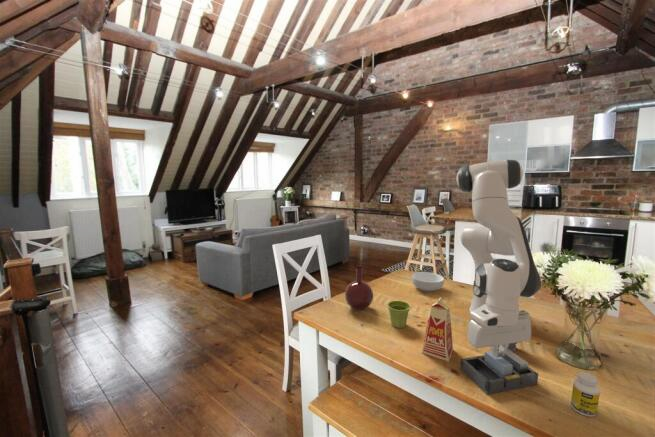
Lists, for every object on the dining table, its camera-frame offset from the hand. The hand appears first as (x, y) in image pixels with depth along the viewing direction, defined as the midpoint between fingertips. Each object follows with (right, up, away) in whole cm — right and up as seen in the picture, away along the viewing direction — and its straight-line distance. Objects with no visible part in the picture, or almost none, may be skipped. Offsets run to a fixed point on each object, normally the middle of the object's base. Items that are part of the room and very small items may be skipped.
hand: (498, 355), depth 95 cm
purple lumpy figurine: (+12, -5, +17) cm, 21 cm away
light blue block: (0, -6, +1) cm, 6 cm away
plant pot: (-23, -2, +34) cm, 41 cm away
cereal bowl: (+2, +4, +74) cm, 74 cm away
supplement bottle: (+16, -9, -13) cm, 22 cm away
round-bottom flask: (-38, 0, +50) cm, 63 cm away
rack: (0, -7, +1) cm, 7 cm away
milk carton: (-13, -5, +15) cm, 21 cm away
